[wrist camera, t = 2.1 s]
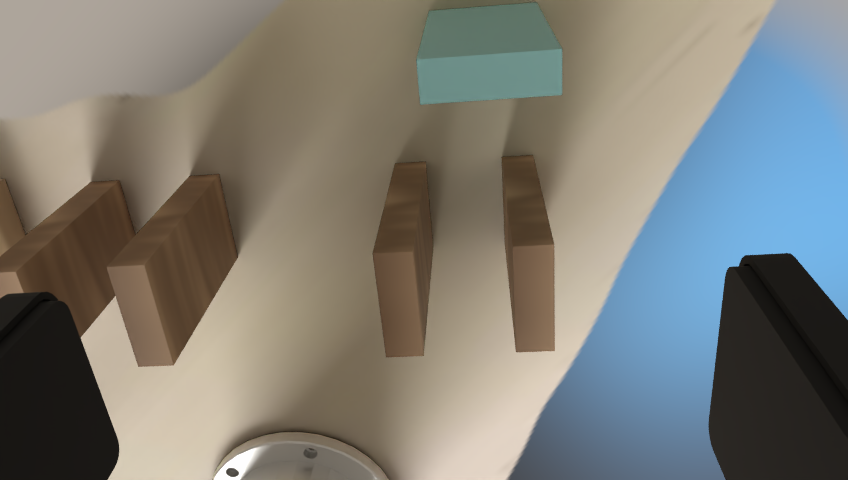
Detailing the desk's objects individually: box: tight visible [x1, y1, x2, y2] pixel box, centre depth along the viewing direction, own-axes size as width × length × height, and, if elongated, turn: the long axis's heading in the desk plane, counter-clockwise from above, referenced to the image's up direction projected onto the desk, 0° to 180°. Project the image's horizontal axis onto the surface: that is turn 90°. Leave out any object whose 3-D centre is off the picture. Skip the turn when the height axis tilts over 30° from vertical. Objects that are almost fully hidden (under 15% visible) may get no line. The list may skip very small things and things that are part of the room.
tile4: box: [107, 174, 238, 367], centre depth 35 cm, size 2×5×10 cm, turn 5°
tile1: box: [502, 155, 555, 352], centre depth 34 cm, size 2×5×10 cm, turn 5°
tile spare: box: [416, 2, 562, 105], centre depth 30 cm, size 2×5×10 cm, turn 95°
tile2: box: [373, 162, 433, 357], centre depth 34 cm, size 2×5×10 cm, turn 5°
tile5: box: [0, 180, 135, 338], centre depth 35 cm, size 2×5×10 cm, turn 5°
